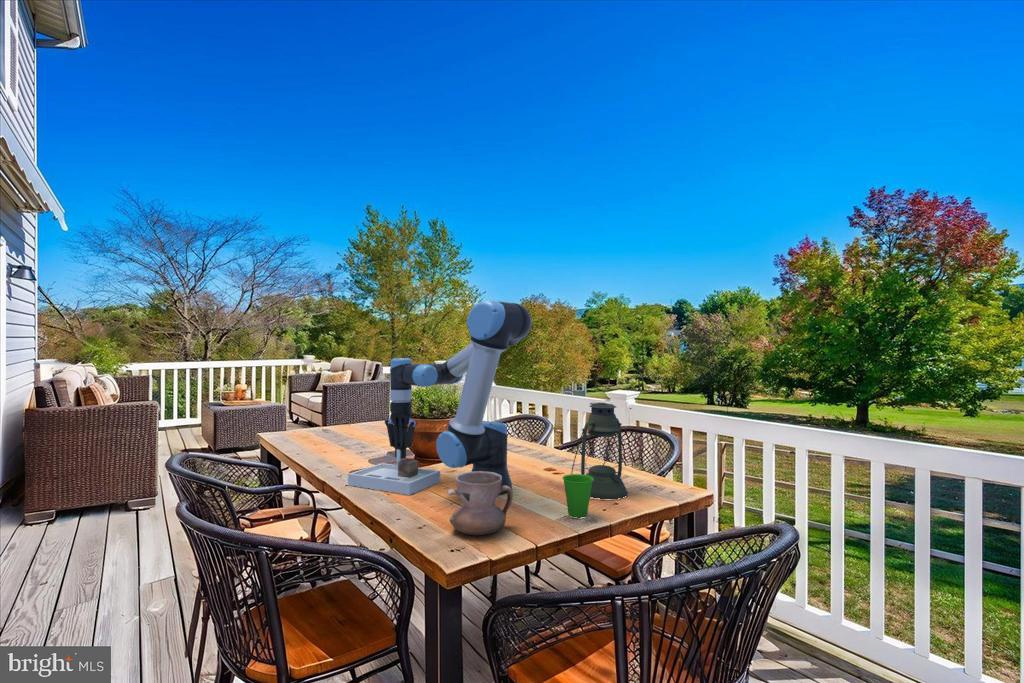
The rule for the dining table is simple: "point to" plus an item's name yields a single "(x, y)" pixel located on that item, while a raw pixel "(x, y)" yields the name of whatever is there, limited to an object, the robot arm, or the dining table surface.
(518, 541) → the dining table surface
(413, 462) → the walnut block
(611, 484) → the lantern
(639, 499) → the dining table surface
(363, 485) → the box
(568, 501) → the cup
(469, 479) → the ceramic jug
